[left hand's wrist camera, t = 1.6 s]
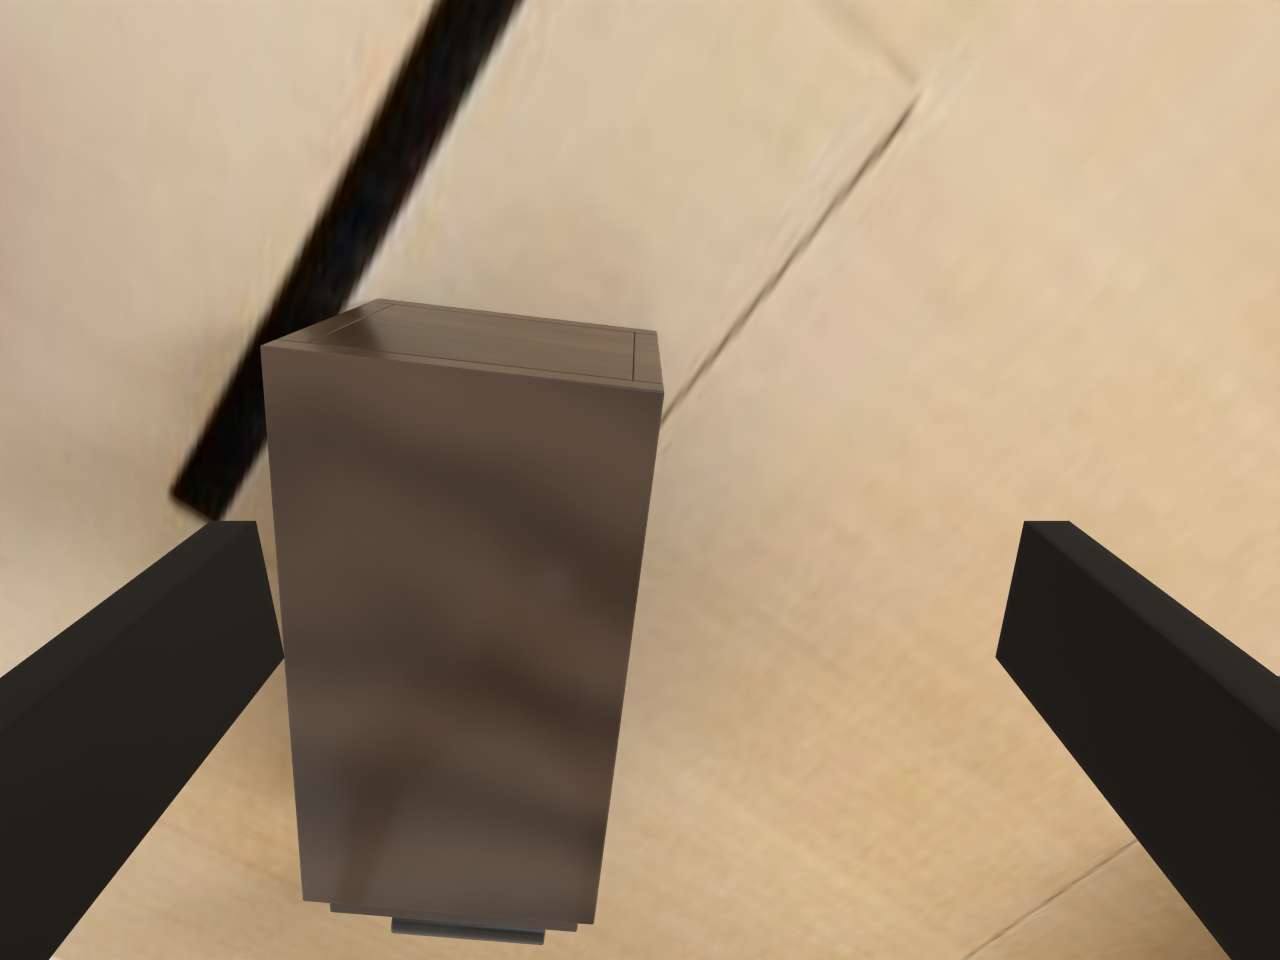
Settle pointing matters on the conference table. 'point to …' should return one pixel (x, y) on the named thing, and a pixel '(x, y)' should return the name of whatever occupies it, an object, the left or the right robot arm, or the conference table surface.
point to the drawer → (461, 924)
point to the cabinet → (458, 598)
